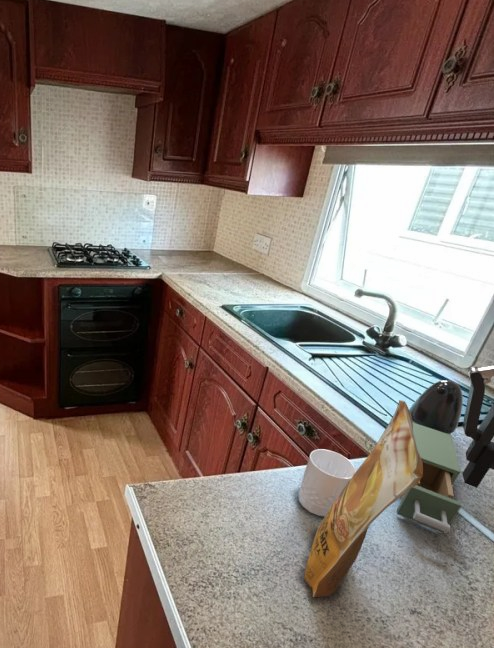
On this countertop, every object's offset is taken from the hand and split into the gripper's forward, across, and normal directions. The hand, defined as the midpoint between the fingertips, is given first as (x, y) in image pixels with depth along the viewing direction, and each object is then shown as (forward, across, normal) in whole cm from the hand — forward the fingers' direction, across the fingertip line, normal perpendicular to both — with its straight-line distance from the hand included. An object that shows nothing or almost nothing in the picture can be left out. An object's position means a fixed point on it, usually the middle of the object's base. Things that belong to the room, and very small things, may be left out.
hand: (469, 480), depth 60 cm
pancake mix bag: (+18, -13, -10) cm, 24 cm away
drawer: (+17, 0, +13) cm, 22 cm away
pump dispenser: (+18, +3, +48) cm, 52 cm away
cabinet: (+18, 0, +26) cm, 32 cm away
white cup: (+18, -17, +3) cm, 25 cm away
